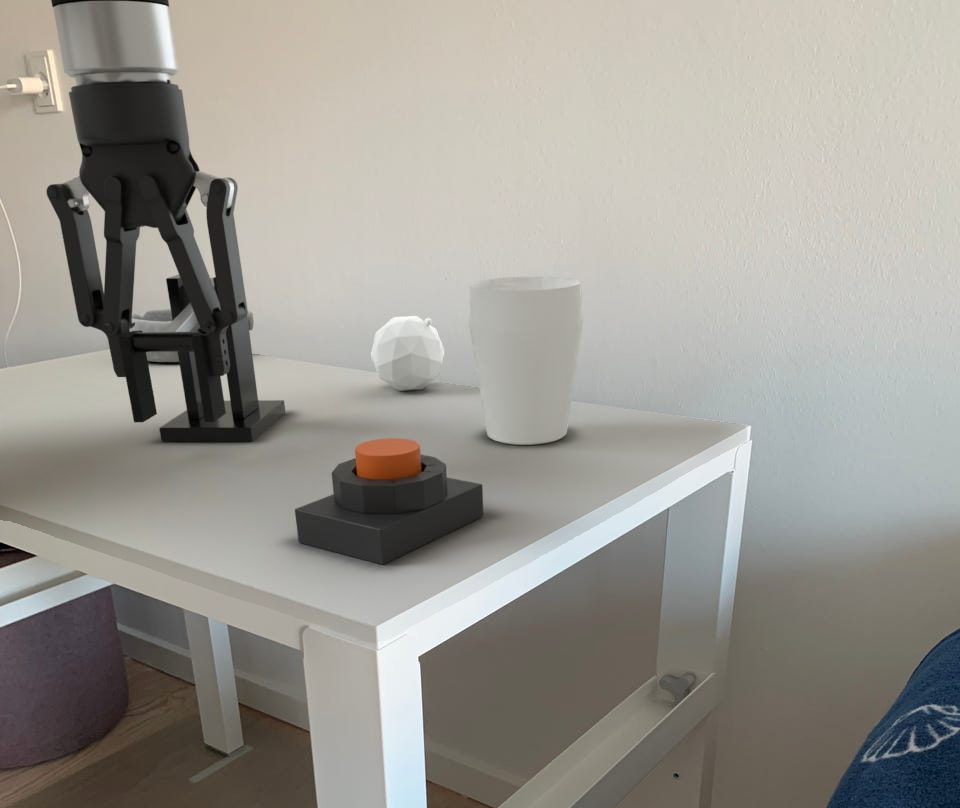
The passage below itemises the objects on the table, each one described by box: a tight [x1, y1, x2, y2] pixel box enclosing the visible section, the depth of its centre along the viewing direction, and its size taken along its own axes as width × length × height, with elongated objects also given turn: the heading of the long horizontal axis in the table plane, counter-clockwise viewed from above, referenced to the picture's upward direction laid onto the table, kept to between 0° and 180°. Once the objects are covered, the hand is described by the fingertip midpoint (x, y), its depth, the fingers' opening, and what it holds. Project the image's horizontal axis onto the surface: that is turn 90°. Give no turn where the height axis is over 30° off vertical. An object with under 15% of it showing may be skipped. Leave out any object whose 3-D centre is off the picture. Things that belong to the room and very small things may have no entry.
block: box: [294, 454, 484, 565], centre depth 63 cm, size 10×7×4 cm
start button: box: [354, 437, 422, 479], centre depth 62 cm, size 4×4×2 cm
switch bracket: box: [158, 274, 286, 443], centre depth 86 cm, size 10×8×13 cm
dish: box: [130, 308, 255, 363], centre depth 121 cm, size 14×14×5 cm
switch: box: [132, 277, 215, 352], centre depth 81 cm, size 12×5×2 cm, turn 174°
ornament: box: [370, 315, 446, 392], centre depth 99 cm, size 7×7×8 cm
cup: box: [468, 276, 584, 446], centre depth 81 cm, size 9×9×12 cm
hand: (180, 417), depth 79 cm, fingers closed on switch, 5 cm apart
